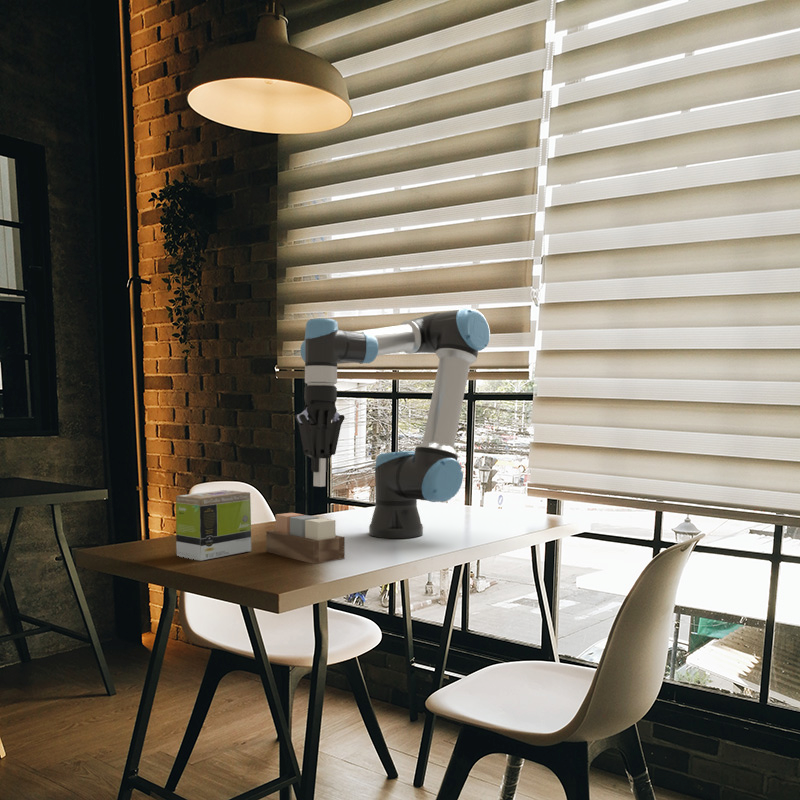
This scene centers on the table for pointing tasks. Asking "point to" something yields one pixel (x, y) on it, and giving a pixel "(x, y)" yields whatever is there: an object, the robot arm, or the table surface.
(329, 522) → the cream block
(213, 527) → the tea box
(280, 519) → the salmon pink block
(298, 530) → the blue-grey block
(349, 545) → the table surface
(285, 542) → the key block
